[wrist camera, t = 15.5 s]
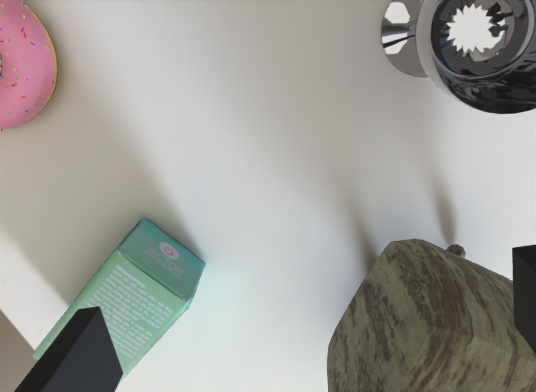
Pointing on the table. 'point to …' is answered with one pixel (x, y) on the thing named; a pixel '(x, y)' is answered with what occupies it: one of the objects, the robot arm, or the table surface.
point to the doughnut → (24, 64)
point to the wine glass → (467, 49)
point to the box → (138, 292)
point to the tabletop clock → (430, 328)
